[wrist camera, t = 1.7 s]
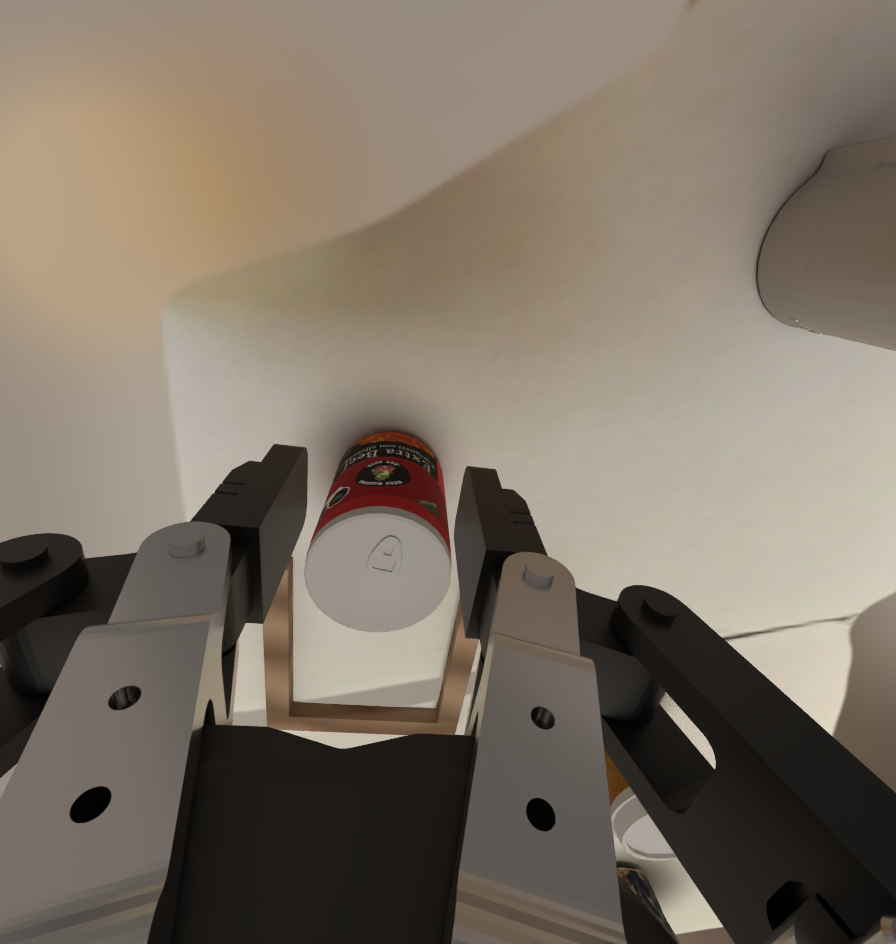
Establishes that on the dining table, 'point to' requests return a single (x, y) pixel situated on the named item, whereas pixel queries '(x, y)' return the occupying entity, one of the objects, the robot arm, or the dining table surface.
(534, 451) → the dining table surface
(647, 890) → the jug
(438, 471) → the canned food
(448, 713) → the walnut bay
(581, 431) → the dining table surface
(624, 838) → the disposable coffee cup
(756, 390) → the dining table surface
